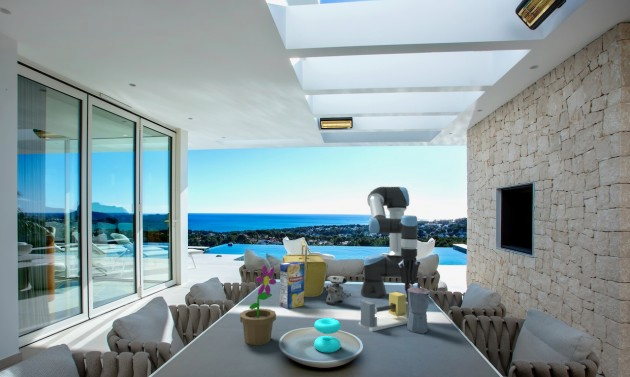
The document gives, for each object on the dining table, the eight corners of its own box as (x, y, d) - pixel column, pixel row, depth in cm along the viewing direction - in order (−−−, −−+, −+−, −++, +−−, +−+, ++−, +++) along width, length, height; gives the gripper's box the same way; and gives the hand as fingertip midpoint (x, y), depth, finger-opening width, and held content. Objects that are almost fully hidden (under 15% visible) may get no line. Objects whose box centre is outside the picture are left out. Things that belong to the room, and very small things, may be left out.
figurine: (339, 308, 185) (339, 279, 186) (323, 303, 194) (324, 275, 194) (351, 304, 192) (351, 276, 192) (335, 300, 200) (335, 273, 200)
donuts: (311, 318, 138) (335, 316, 141) (310, 344, 138) (335, 341, 141) (318, 327, 129) (344, 324, 132) (318, 355, 129) (344, 352, 131)
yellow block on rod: (396, 311, 170) (396, 291, 171) (405, 315, 165) (405, 294, 166) (388, 313, 168) (389, 293, 168) (397, 316, 163) (397, 296, 163)
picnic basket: (281, 286, 232) (282, 239, 233) (321, 285, 235) (322, 239, 236) (282, 298, 203) (283, 245, 204) (327, 297, 206) (328, 245, 207)
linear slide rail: (401, 316, 174) (401, 293, 174) (415, 321, 166) (415, 297, 166) (358, 324, 161) (358, 300, 161) (371, 331, 153) (371, 305, 153)
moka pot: (421, 337, 147) (421, 288, 148) (396, 325, 161) (396, 280, 161) (438, 333, 151) (438, 285, 152) (412, 322, 165) (412, 278, 166)
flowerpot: (259, 350, 132) (260, 268, 133) (231, 341, 140) (232, 264, 141) (282, 338, 144) (284, 263, 145) (255, 330, 152) (257, 259, 153)
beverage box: (279, 306, 188) (280, 263, 188) (296, 302, 195) (296, 261, 196) (287, 309, 183) (287, 265, 183) (303, 305, 190) (304, 263, 190)
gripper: (412, 246, 178) (412, 294, 177) (393, 247, 171) (393, 297, 170) (424, 248, 171) (424, 297, 171) (404, 249, 165) (404, 301, 164)
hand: (408, 297), depth 170 cm, fingers closed
